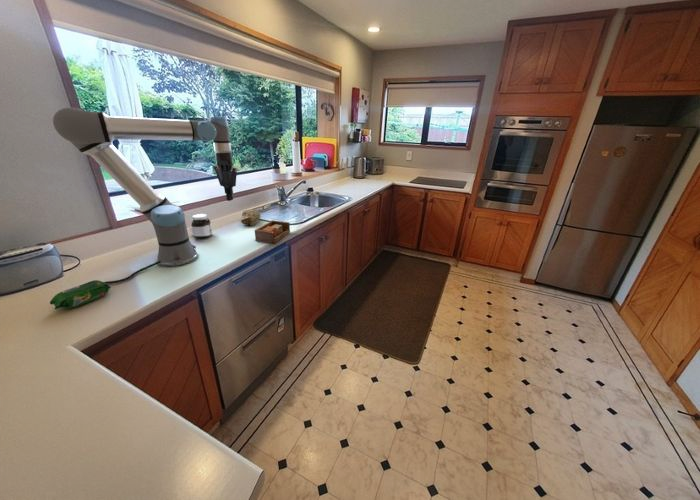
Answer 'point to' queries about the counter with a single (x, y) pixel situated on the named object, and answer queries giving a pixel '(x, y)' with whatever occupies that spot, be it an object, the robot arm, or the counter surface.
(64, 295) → the snack package
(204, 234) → the spread jar
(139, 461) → the counter surface
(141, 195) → the robot arm
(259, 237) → the wooden box
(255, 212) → the sponge
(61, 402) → the counter surface
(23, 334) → the counter surface
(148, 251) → the counter surface
